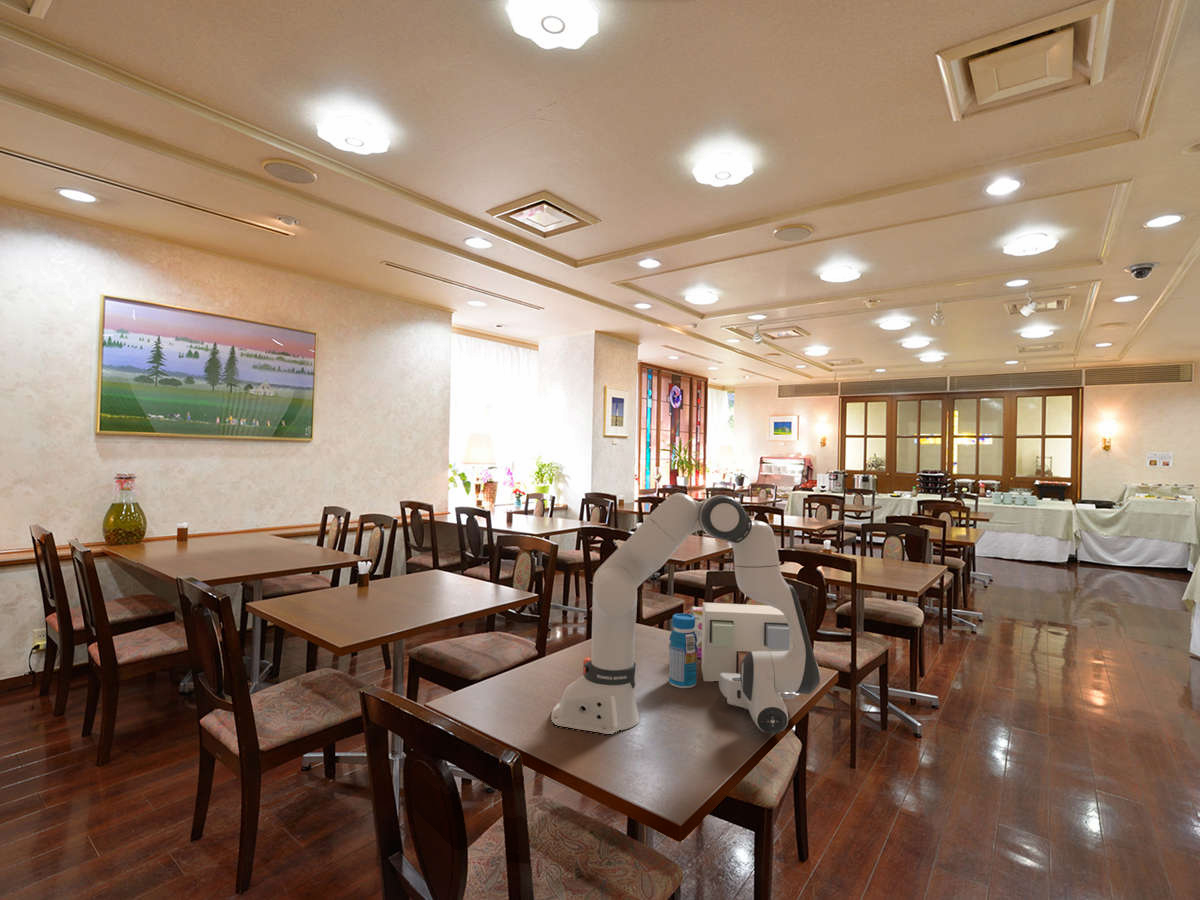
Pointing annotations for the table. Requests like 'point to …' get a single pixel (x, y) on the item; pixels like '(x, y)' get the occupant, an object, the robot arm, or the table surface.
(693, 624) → the beverage bottle
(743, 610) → the button panel
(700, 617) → the candy bar box
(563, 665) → the table surface
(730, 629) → the sage-green button
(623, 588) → the robot arm
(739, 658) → the terracotta button
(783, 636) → the slate-blue button
